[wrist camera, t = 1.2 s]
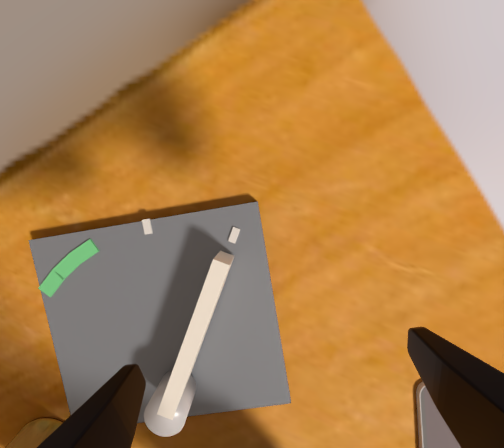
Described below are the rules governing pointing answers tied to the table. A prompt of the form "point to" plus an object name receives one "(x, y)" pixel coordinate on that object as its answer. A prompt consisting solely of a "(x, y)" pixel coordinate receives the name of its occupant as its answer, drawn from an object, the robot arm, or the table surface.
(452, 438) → the smartphone
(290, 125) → the table surface
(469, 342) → the table surface
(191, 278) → the dial plate
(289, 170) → the table surface
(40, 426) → the vase
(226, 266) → the lever
